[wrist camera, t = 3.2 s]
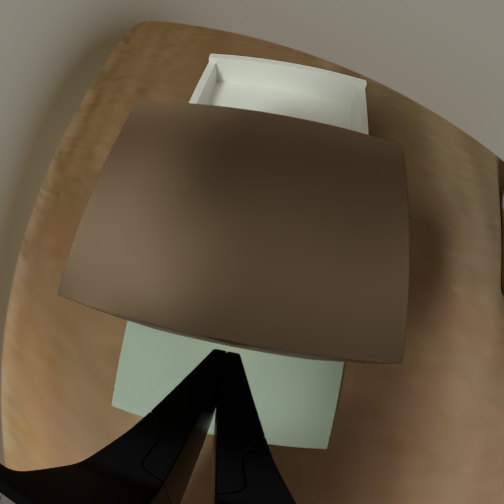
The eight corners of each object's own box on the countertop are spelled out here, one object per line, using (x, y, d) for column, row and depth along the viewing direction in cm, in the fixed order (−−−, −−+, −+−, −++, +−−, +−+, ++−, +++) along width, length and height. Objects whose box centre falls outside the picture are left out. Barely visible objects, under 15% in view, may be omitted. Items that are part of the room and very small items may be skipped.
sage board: (318, 440, 16) (326, 449, 14) (124, 401, 16) (111, 405, 14) (350, 178, 21) (359, 163, 19) (190, 149, 22) (187, 132, 20)
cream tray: (358, 180, 21) (372, 156, 18) (183, 148, 22) (176, 122, 19) (356, 103, 24) (366, 80, 21) (212, 78, 24) (210, 53, 22)
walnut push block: (308, 359, 15) (402, 363, 6) (160, 330, 16) (57, 294, 6) (323, 253, 17) (402, 144, 8) (186, 228, 17) (137, 101, 8)
